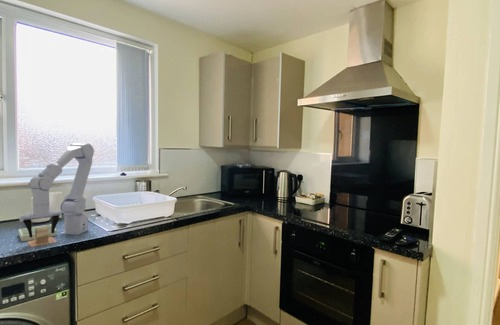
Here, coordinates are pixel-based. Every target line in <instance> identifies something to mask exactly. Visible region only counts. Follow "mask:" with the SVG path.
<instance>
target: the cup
mask: <svg viewBox="0 0 500 325" xmlns="http://www.w3.org/2000/svg"><path fill="white" fill-rule="evenodd" d="M30 198H31V199H30V214H33V196H32V197H30ZM49 207H50V197H49ZM47 221H51V218H50V217H48V218H41V219H34V220H31V222H32V223H42V222H47Z"/></svg>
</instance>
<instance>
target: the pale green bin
mask: <svg viewBox="0 0 500 325" xmlns="http://www.w3.org/2000/svg"><path fill="white" fill-rule="evenodd" d="M43 226H47V227H48V238H49V237H57V236H58V233H57V228H55V231H54V233H53V234H52V233H51V223H50V224H44V225H38V226H32V237H30V236H29V232H28V229H27V227H25V228H23V227H22V228H18V236H19V238H20V240H21V242H28V241H32V240H35V228H37V227H43Z"/></svg>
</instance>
